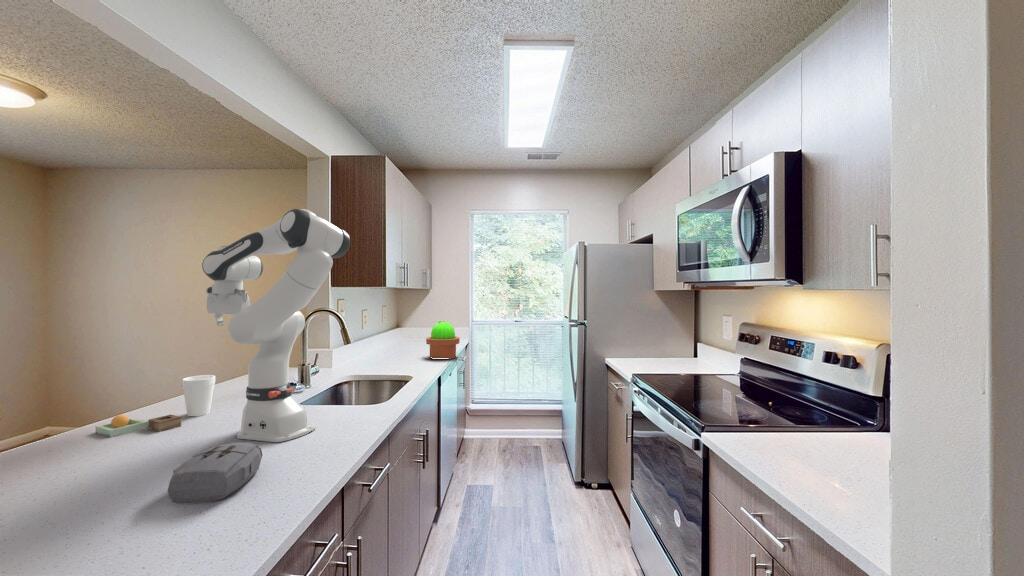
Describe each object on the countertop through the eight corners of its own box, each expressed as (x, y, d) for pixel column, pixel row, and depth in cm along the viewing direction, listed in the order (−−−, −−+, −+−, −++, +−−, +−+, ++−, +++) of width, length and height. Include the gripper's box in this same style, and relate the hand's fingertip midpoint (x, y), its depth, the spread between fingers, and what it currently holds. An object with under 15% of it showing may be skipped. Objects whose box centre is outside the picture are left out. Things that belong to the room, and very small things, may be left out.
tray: (147, 427, 128) (147, 421, 128) (110, 437, 120) (110, 430, 120) (132, 424, 131) (132, 417, 131) (95, 432, 123) (95, 426, 123)
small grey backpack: (234, 502, 84) (274, 462, 104) (235, 463, 84) (275, 430, 104) (153, 508, 81) (210, 466, 101) (154, 468, 81) (210, 433, 101)
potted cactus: (457, 360, 257) (457, 322, 257) (423, 360, 256) (423, 321, 256) (460, 355, 278) (461, 319, 279) (429, 355, 278) (429, 319, 278)
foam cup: (176, 415, 141) (177, 378, 141) (206, 408, 149) (207, 374, 149) (190, 419, 136) (190, 381, 136) (220, 412, 145) (220, 376, 145)
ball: (132, 422, 127) (128, 411, 128) (116, 426, 123) (112, 414, 124) (127, 428, 128) (123, 417, 129) (110, 432, 124) (107, 420, 125)
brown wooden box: (181, 426, 130) (181, 416, 130) (158, 431, 124) (158, 422, 124) (170, 423, 132) (170, 414, 132) (148, 429, 127) (148, 419, 127)
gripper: (255, 289, 148) (254, 326, 148) (221, 289, 156) (220, 324, 156) (238, 289, 142) (237, 328, 142) (203, 289, 150) (202, 325, 150)
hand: (228, 326), depth 149 cm, fingers open, 8 cm apart
